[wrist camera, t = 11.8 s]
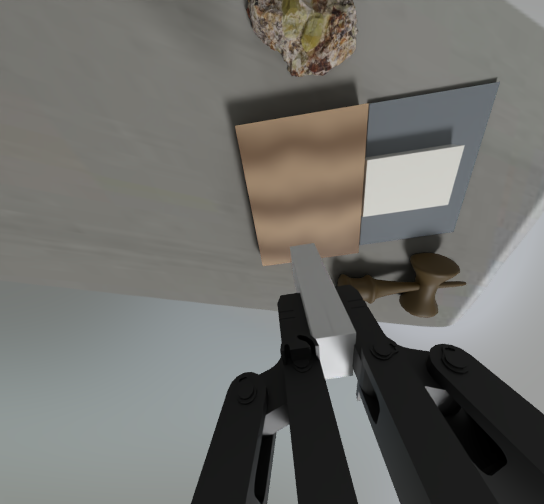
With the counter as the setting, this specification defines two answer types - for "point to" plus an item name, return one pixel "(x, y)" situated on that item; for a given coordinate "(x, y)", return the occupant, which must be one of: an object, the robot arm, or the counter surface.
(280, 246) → the tan wooden board
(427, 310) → the kendama
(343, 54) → the mineral rock
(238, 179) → the counter surface
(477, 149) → the mat
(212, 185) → the counter surface
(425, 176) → the stone tile
